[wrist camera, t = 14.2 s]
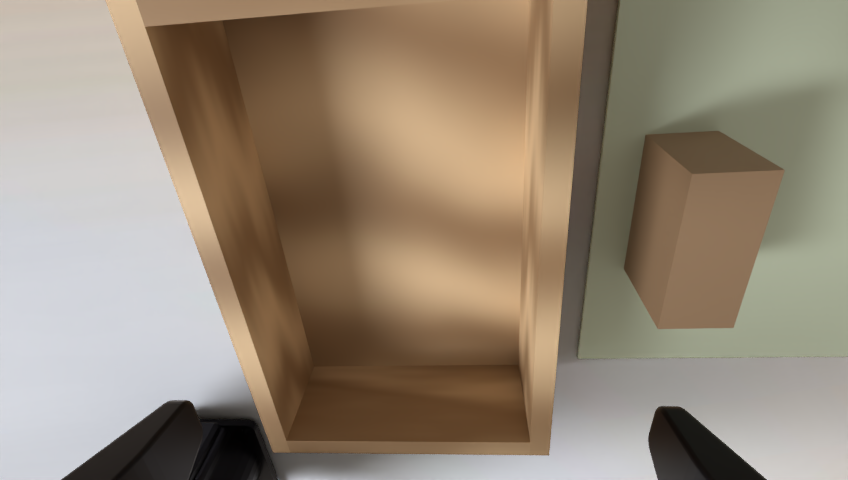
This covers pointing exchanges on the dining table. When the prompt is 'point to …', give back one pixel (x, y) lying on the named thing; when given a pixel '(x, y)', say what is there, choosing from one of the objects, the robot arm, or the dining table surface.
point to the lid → (722, 183)
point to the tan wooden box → (376, 206)
